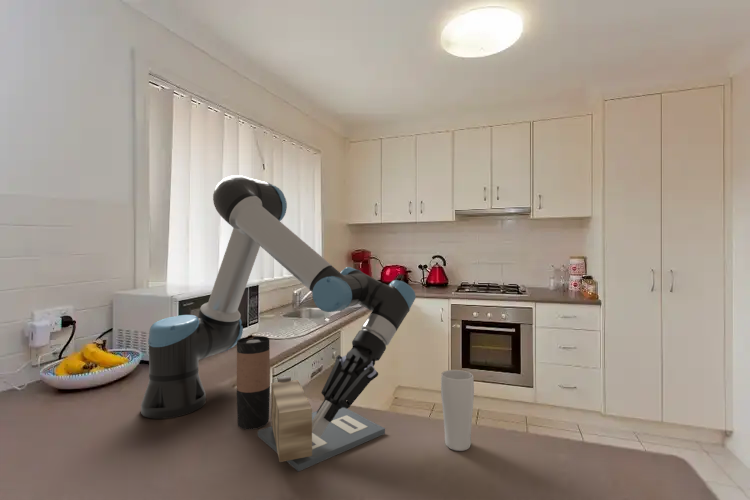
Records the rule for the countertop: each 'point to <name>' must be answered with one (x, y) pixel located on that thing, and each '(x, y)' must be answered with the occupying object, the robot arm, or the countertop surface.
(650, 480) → the countertop surface
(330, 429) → the label board
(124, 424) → the countertop surface
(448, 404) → the drinking glass
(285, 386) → the tan wooden block
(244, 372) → the travel mug
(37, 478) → the countertop surface
